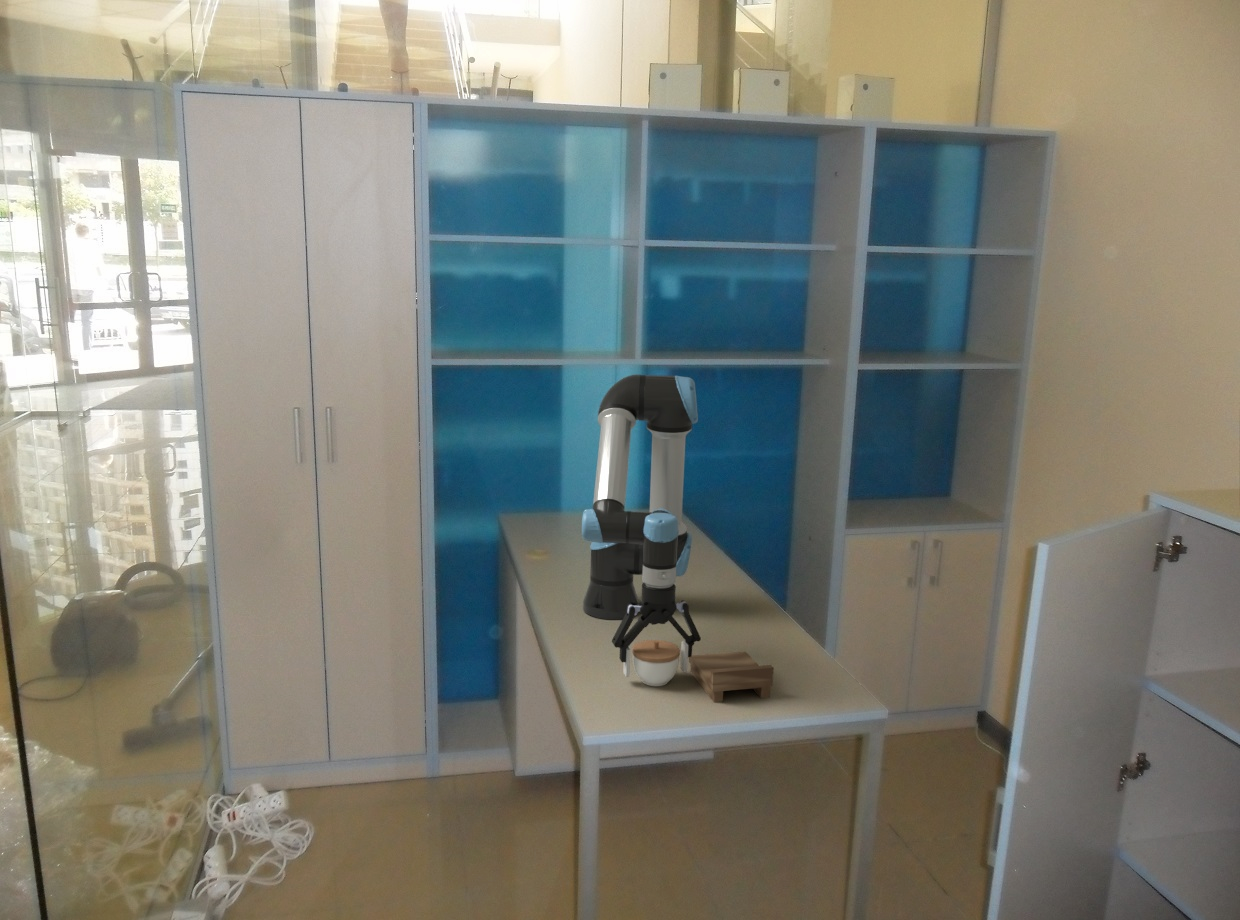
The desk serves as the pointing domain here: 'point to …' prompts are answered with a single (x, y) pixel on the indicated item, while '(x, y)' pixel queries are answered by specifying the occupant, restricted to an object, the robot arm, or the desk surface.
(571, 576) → the desk surface
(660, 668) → the lidded jar
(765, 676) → the wooden stand
